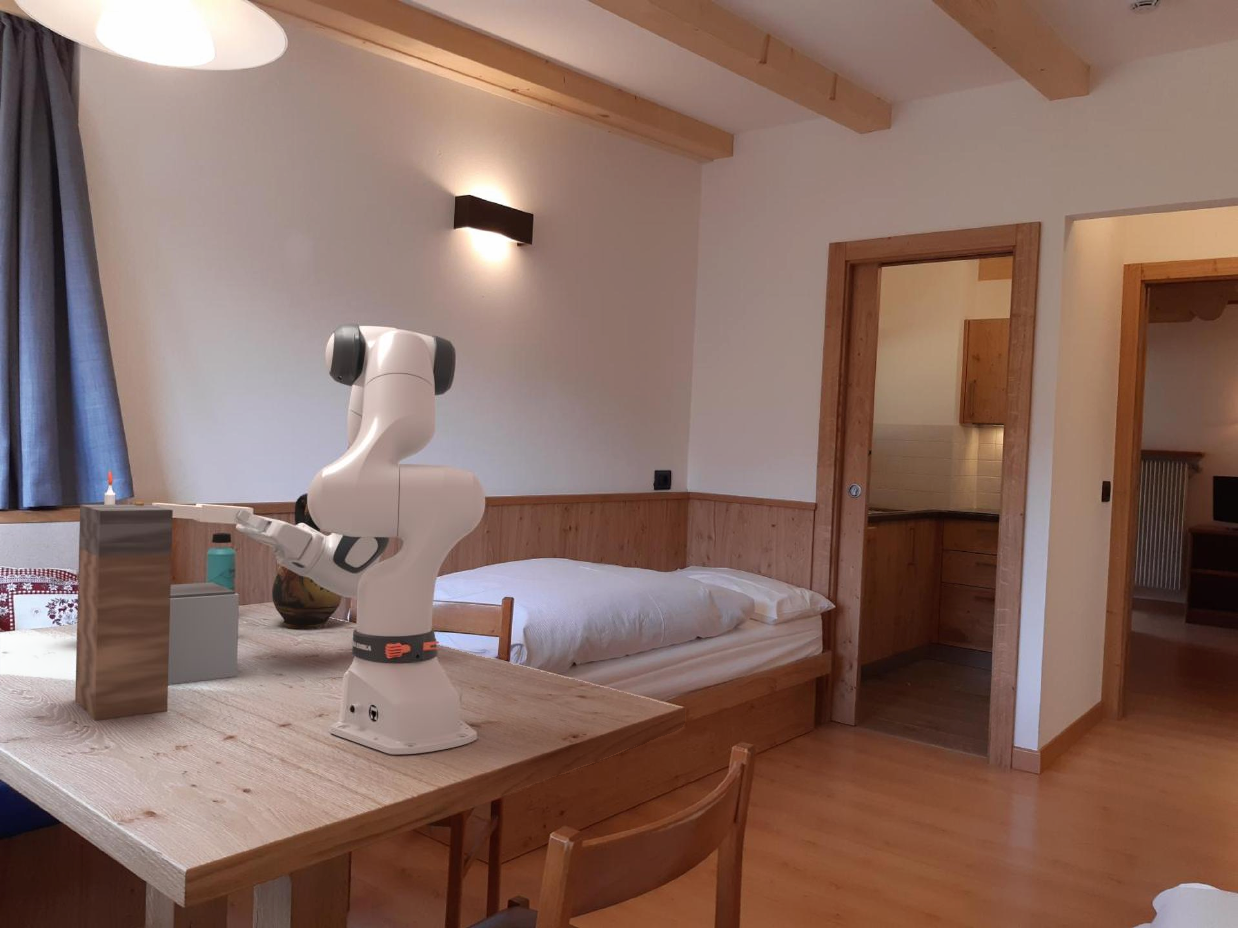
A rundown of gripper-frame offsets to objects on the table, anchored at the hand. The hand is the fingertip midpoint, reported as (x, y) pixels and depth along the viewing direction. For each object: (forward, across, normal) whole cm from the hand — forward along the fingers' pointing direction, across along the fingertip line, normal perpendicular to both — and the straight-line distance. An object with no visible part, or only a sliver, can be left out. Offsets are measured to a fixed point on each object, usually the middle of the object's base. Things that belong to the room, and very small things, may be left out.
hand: (234, 511), depth 180 cm
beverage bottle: (-27, -52, +18) cm, 61 cm away
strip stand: (+5, +16, +36) cm, 40 cm away
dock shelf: (-7, -1, +29) cm, 30 cm away
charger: (+4, 0, +4) cm, 6 cm away
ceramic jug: (-39, -36, +11) cm, 54 cm away
